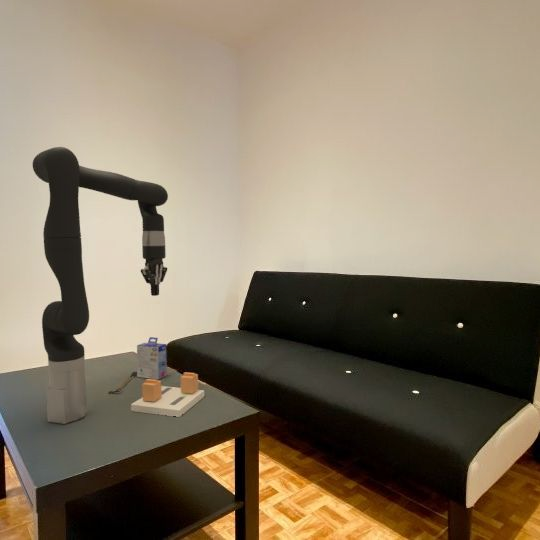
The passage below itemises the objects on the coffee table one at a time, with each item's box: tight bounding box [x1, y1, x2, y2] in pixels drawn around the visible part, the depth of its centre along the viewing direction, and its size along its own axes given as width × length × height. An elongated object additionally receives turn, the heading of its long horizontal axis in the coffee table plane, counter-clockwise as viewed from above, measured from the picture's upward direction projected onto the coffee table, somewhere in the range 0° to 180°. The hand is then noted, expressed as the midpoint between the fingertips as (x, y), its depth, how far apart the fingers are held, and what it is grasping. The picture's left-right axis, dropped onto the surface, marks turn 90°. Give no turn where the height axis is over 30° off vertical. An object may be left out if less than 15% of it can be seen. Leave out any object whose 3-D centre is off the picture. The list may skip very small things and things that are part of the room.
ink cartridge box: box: [136, 336, 168, 380], centre depth 147 cm, size 10×6×14 cm, turn 71°
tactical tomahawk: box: [107, 371, 137, 395], centre depth 140 cm, size 21×7×1 cm, turn 178°
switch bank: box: [130, 385, 205, 418], centre depth 121 cm, size 16×16×2 cm
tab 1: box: [141, 378, 162, 402], centre depth 119 cm, size 4×4×6 cm
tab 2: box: [180, 371, 199, 394], centre depth 125 cm, size 4×4×6 cm
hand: (155, 295), depth 134 cm, fingers closed
